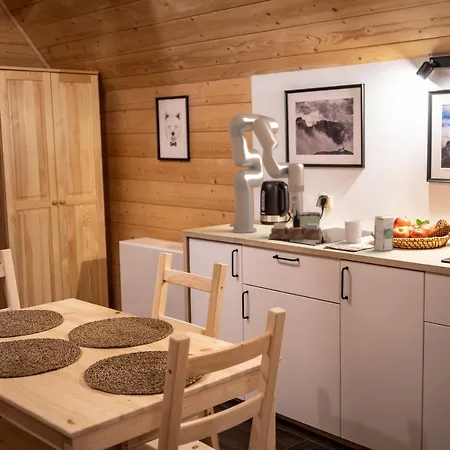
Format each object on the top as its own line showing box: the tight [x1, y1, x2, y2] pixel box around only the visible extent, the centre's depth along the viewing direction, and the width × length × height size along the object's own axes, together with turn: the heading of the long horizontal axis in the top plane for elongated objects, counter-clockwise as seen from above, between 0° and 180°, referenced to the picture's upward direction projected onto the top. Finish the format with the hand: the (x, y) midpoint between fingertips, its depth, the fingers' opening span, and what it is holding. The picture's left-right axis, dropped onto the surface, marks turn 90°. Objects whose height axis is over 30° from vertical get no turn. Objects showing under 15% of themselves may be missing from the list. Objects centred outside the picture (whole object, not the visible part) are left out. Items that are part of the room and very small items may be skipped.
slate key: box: [307, 223, 320, 229], centre depth 328 cm, size 5×5×3 cm
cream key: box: [273, 222, 287, 229], centre depth 333 cm, size 5×5×3 cm
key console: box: [268, 226, 323, 241], centre depth 331 cm, size 24×10×5 cm, turn 74°
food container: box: [300, 211, 322, 229], centre depth 349 cm, size 12×6×10 cm, turn 84°
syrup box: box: [373, 215, 395, 252], centre depth 291 cm, size 6×6×14 cm
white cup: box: [344, 219, 363, 244], centre depth 313 cm, size 8×8×10 cm
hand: (296, 227), depth 330 cm, fingers closed
